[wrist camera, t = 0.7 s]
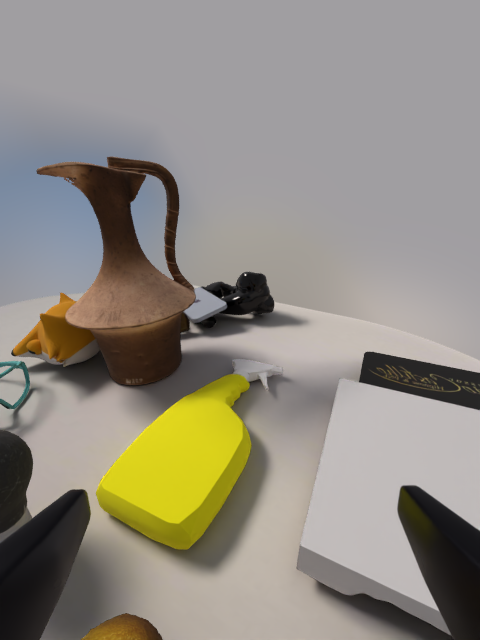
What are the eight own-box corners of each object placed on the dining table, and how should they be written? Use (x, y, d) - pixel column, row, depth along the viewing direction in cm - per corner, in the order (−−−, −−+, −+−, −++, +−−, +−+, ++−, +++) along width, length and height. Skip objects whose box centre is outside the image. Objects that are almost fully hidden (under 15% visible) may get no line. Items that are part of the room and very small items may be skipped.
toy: (59, 355, 55) (17, 315, 50) (126, 313, 56) (91, 271, 52) (23, 421, 38) (-45, 370, 33) (120, 359, 39) (68, 302, 35)
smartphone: (229, 307, 54) (201, 289, 66) (228, 302, 53) (199, 285, 66) (194, 324, 51) (171, 302, 64) (192, 319, 51) (170, 298, 63)
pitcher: (178, 329, 55) (157, 165, 43) (225, 369, 42) (213, 151, 30) (76, 359, 46) (16, 160, 34) (96, 421, 33) (11, 138, 21)
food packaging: (336, 400, 36) (295, 575, 19) (339, 377, 34) (299, 545, 18) (483, 439, 30) (611, 740, 13) (494, 413, 29) (652, 712, 12)
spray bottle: (88, 506, 24) (224, 363, 44) (197, 571, 20) (293, 380, 40) (80, 482, 23) (224, 347, 43) (194, 545, 19) (294, 362, 39)
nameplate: (593, 464, 27) (546, 400, 35) (604, 449, 26) (553, 387, 34) (355, 400, 35) (362, 361, 43) (357, 388, 34) (364, 350, 43)
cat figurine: (242, 349, 53) (183, 336, 65) (280, 307, 60) (221, 302, 72) (222, 304, 48) (163, 300, 60) (266, 265, 56) (206, 268, 68)
